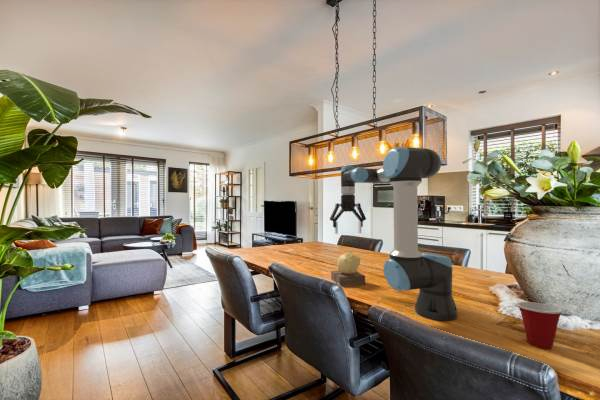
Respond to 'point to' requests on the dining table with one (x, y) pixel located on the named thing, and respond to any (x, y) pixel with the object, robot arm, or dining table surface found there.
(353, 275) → the walnut block
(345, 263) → the sculpture
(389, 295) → the dining table surface
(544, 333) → the plastic cup
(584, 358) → the dining table surface
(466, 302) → the dining table surface
